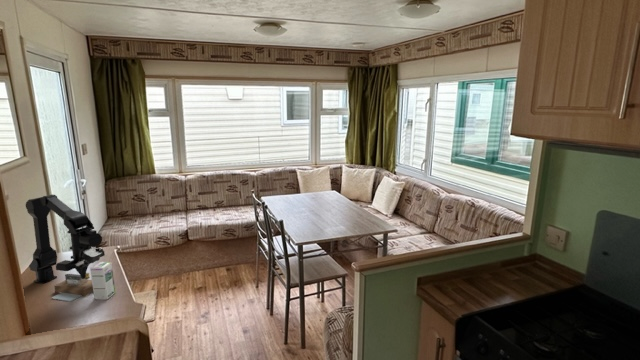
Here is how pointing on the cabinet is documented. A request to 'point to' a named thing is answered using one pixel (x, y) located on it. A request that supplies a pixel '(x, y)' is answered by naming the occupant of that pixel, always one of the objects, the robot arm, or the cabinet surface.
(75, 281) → the grey block
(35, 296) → the cabinet surface
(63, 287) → the body
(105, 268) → the syrup box
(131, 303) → the cabinet surface
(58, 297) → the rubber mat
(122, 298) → the cabinet surface
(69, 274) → the lever
